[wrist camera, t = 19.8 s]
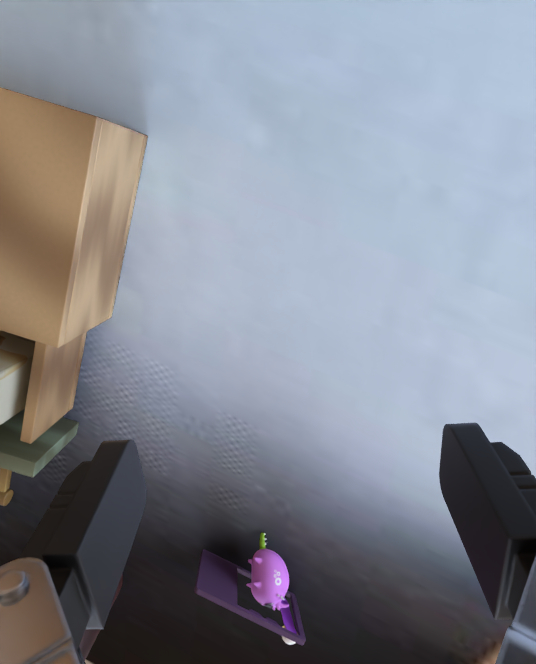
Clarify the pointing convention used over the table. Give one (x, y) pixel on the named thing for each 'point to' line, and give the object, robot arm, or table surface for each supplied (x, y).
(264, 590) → the purple figurine
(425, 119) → the table surface
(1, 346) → the cosmetic box
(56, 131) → the cabinet
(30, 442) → the drawer
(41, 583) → the robot arm
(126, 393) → the table surface
